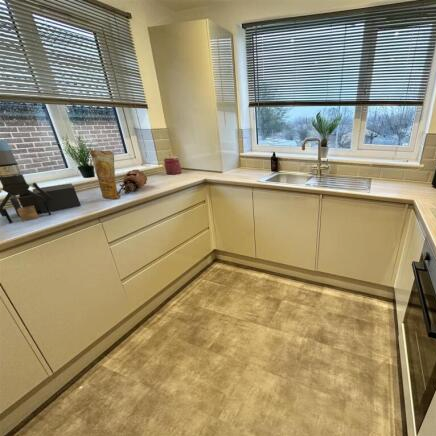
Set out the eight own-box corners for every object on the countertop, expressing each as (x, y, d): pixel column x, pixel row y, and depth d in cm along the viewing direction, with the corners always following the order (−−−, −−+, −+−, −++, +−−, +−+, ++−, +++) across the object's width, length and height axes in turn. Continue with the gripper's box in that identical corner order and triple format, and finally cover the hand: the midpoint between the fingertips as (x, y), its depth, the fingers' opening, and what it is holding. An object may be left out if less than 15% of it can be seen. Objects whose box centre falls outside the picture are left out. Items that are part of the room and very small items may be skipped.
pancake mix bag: (109, 193, 155) (95, 149, 145) (127, 197, 148) (113, 150, 137) (98, 196, 150) (82, 150, 139) (116, 200, 142) (101, 151, 131)
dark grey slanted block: (42, 213, 123) (32, 193, 119) (41, 207, 132) (32, 188, 128) (81, 205, 133) (73, 187, 129) (77, 201, 142) (71, 183, 138)
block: (22, 221, 113) (17, 210, 111) (22, 218, 117) (17, 208, 115) (38, 218, 117) (33, 207, 115) (38, 215, 120) (33, 205, 118)
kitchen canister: (185, 172, 219) (181, 152, 213) (176, 175, 208) (171, 154, 201) (172, 171, 222) (168, 152, 215) (163, 174, 210) (158, 154, 203)
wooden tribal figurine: (109, 188, 148) (121, 168, 166) (125, 206, 158) (135, 186, 177) (132, 181, 148) (142, 162, 167) (147, 199, 159) (155, 180, 177)
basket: (-1, 219, 114) (-11, 202, 110) (1, 213, 122) (-8, 196, 118) (57, 208, 127) (51, 192, 124) (56, 203, 135) (49, 188, 132)
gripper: (-35, 181, 98) (-9, 228, 106) (48, 171, 114) (65, 212, 123) (-32, 178, 103) (-7, 223, 111) (47, 169, 119) (64, 209, 127)
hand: (31, 218), depth 117 cm, fingers open, 13 cm apart
